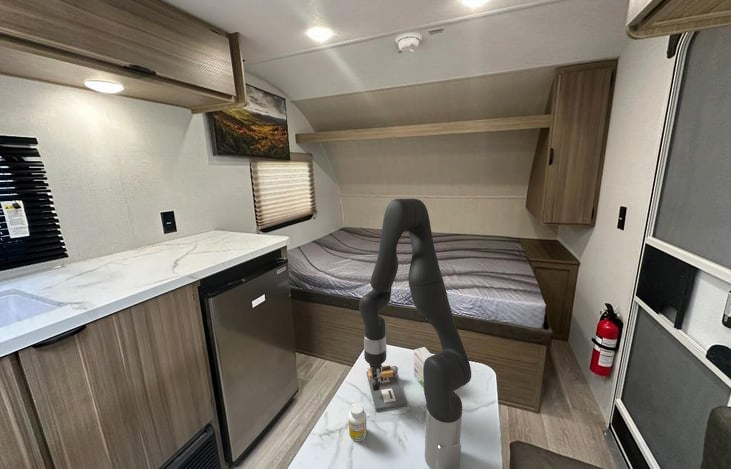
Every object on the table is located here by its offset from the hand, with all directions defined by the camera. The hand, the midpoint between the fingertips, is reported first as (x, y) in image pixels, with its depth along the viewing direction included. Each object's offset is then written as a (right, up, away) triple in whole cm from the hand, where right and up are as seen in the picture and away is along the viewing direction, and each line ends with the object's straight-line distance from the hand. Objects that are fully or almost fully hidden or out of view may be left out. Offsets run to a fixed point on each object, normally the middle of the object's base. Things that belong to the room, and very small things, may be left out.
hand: (376, 389), depth 101 cm
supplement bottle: (-6, -7, -13) cm, 16 cm away
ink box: (+19, -1, +8) cm, 20 cm away
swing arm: (+3, +1, +8) cm, 8 cm away
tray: (+4, -2, +5) cm, 6 cm away
